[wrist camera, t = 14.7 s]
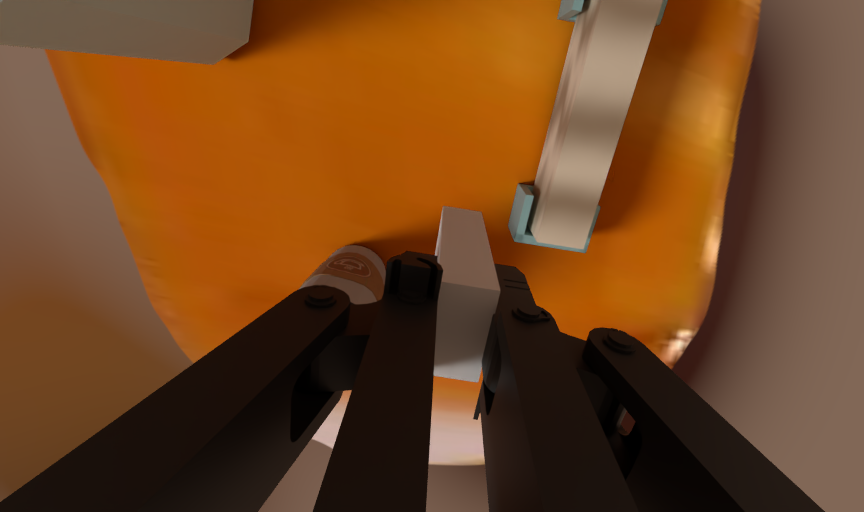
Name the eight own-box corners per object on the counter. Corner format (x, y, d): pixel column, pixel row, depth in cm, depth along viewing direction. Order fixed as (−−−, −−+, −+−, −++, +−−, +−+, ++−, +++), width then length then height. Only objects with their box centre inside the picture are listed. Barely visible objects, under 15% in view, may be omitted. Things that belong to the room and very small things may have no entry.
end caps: (572, -44, 32) (589, -64, 28) (653, -30, 32) (683, -47, 28) (507, 226, 41) (514, 241, 37) (572, 236, 41) (585, 253, 37)
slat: (585, -18, 32) (612, -40, 27) (634, -10, 32) (672, -30, 27) (525, 220, 40) (536, 242, 34) (565, 227, 40) (583, 249, 34)
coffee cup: (403, 245, 42) (380, 322, 29) (387, 312, 46) (359, 410, 32) (325, 225, 42) (263, 293, 28) (313, 294, 45) (252, 386, 31)
